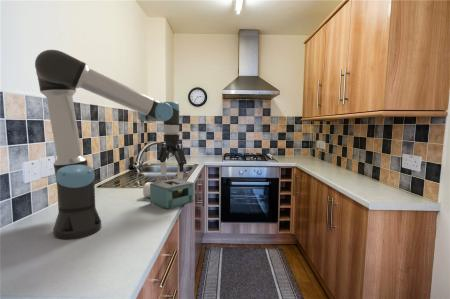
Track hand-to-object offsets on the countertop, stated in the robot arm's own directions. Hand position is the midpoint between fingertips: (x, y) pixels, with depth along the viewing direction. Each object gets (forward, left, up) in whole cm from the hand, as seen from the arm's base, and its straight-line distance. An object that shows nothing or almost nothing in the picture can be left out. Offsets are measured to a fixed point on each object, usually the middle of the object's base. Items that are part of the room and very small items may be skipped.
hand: (171, 176), depth 126 cm
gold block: (0, 0, -11) cm, 11 cm away
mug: (+1, +15, -14) cm, 20 cm away
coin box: (0, 0, -13) cm, 13 cm away
